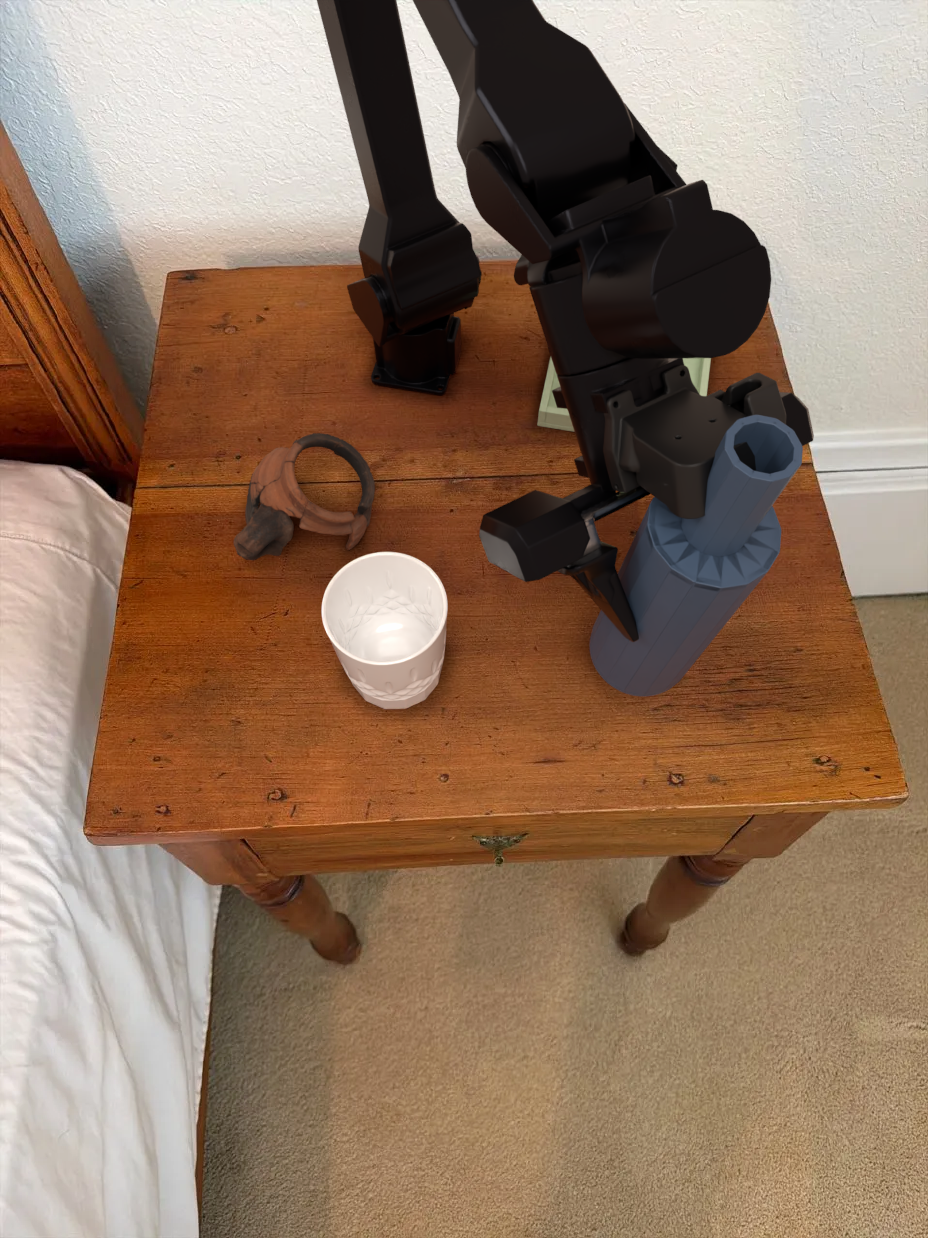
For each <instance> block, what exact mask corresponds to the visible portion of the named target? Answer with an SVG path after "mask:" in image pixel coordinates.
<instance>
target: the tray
mask: <svg viewBox="0 0 928 1238" xmlns="http://www.w3.org/2000/svg"><path fill="white" fill-rule="evenodd" d="M711 361H712V358H683V362H684V365H685V366H686V367H687V368H688V369H689V373H690V377H691V381H692V383H693V385H694V386H695V388H696V389H697V391H698V393H699V394H700V395H701V396H708V388H709V379H710V370H711ZM543 385H544V386H543V390H542V394H541V399H540V404H539V409H538V415H537V416H538V417H537V423H536V424H537V426H538V427H542V428H549V429H556V430H560V431H566V432H572V433H573V432H574V433H575V431H574V428H573V425H572V422H571V419H570V416H569V412H568V409H565V408H557V405H556V402H555V399H554V396H553V393H552V390H554V389H556V388H558V387H560V384H559V381H558V378H557V374H556V371H555V368H554V365H553V362H552V358H551V356H550V357H549V361H548V365H547V371H546V376H545V380H544V384H543Z"/></svg>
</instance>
